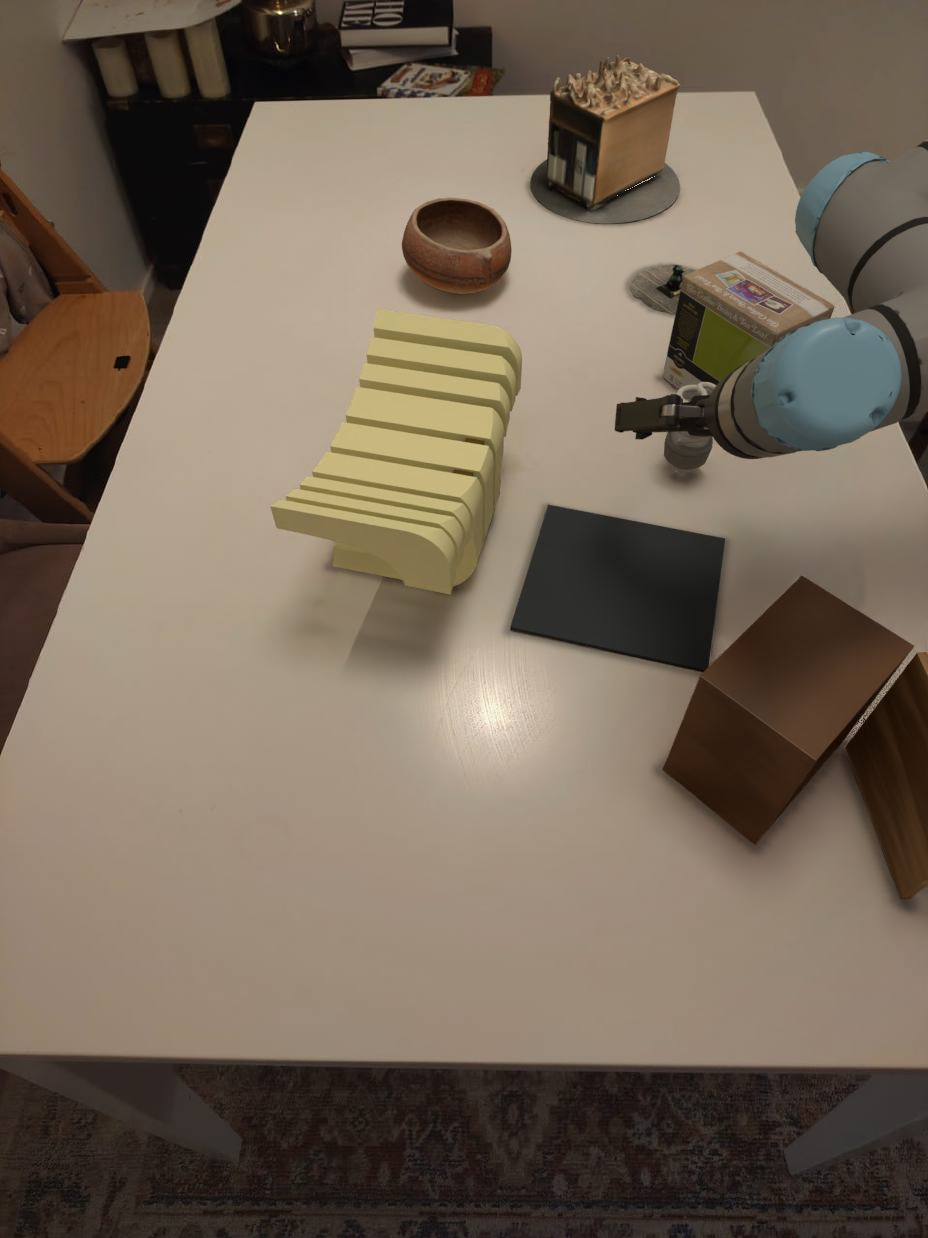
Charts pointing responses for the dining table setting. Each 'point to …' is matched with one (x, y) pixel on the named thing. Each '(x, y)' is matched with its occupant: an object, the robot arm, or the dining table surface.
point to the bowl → (457, 245)
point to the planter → (609, 145)
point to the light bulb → (688, 437)
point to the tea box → (734, 318)
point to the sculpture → (660, 286)
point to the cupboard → (780, 705)
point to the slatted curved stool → (415, 453)
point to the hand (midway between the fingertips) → (707, 429)
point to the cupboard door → (898, 774)
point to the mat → (623, 587)
